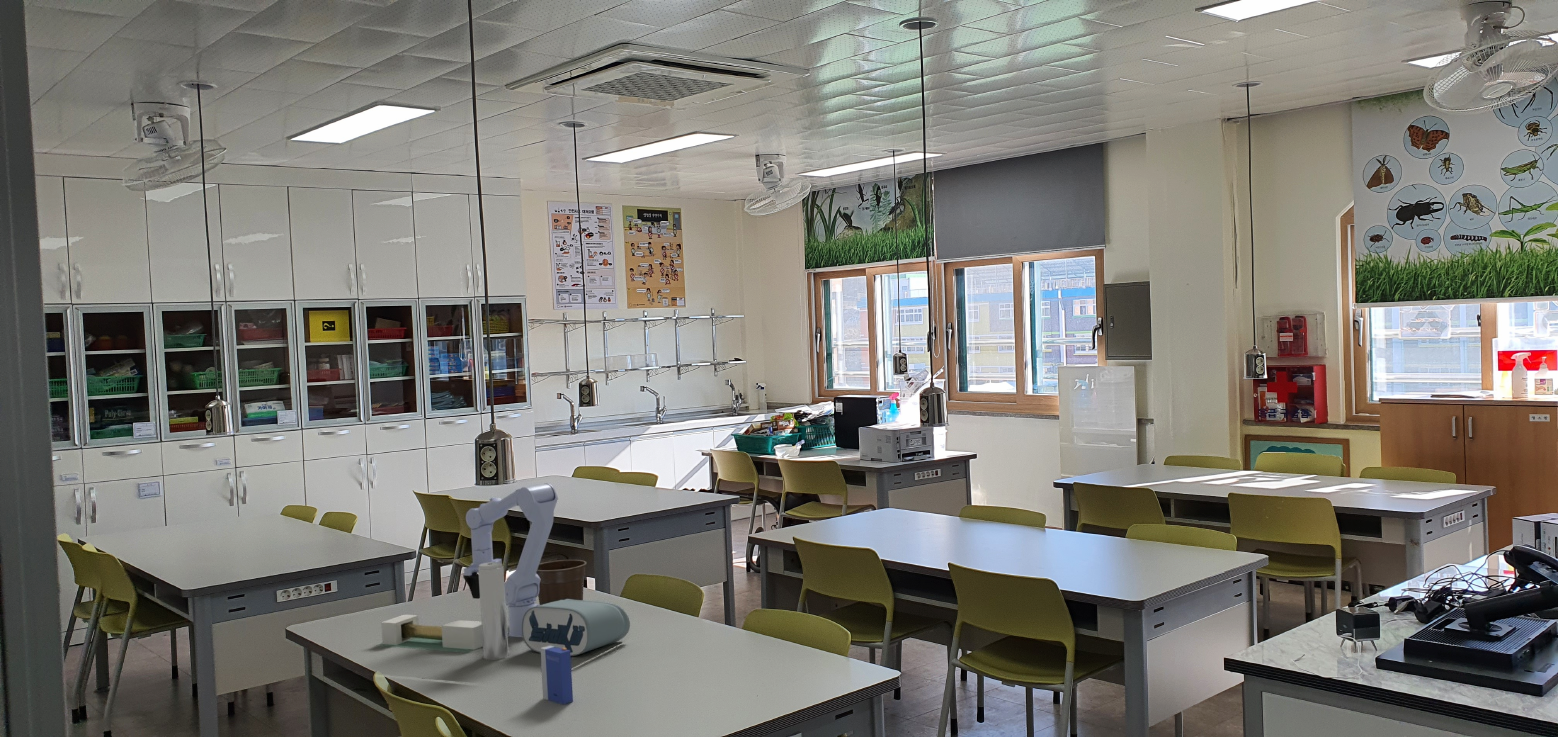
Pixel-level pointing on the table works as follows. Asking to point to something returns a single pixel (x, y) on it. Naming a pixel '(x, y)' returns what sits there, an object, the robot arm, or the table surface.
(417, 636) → the tube
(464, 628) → the sleeve
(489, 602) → the white tall cylinder
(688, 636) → the table surface
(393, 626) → the socket
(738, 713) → the table surface
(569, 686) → the walkman
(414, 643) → the mat
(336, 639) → the table surface
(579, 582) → the plant pot
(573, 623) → the pencil case
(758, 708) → the table surface
